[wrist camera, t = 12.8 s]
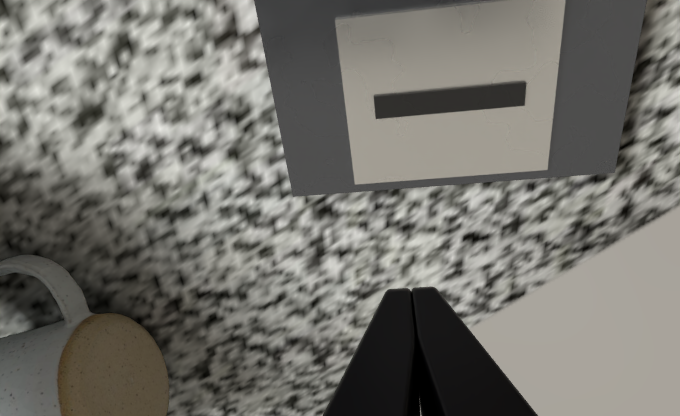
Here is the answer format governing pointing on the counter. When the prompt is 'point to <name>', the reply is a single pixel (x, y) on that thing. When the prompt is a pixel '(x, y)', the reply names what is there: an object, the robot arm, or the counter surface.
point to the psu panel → (447, 89)
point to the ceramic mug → (79, 358)
